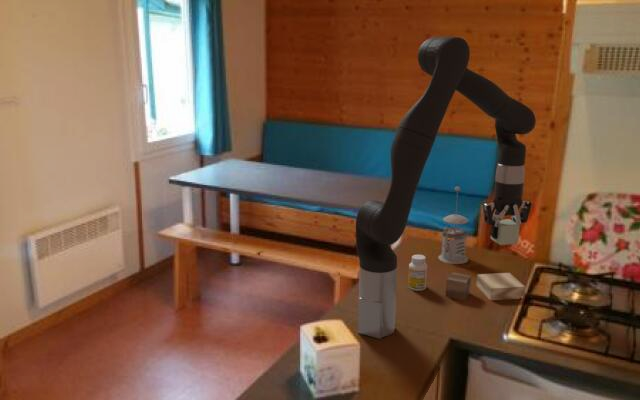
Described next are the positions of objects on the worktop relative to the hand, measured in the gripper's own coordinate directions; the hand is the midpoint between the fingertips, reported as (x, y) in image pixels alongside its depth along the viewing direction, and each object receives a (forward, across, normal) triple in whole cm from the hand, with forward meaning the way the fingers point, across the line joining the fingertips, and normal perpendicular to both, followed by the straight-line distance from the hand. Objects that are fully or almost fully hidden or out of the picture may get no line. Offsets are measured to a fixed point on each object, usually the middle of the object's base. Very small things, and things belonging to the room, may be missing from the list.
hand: (504, 237), depth 162 cm
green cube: (+1, 0, 0) cm, 1 cm away
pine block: (+17, 0, 0) cm, 17 cm away
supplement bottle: (+17, -22, +8) cm, 29 cm away
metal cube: (+17, -13, +1) cm, 21 cm away
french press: (+17, -3, +27) cm, 32 cm away
